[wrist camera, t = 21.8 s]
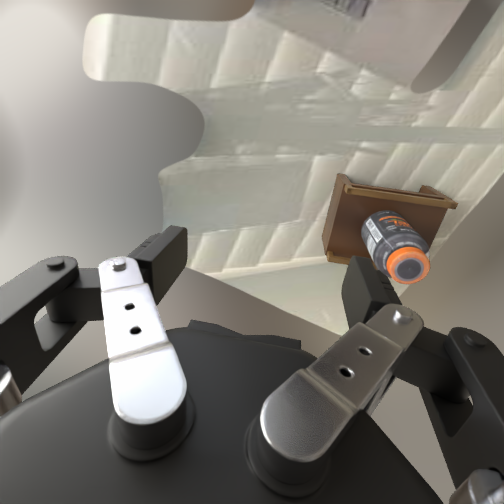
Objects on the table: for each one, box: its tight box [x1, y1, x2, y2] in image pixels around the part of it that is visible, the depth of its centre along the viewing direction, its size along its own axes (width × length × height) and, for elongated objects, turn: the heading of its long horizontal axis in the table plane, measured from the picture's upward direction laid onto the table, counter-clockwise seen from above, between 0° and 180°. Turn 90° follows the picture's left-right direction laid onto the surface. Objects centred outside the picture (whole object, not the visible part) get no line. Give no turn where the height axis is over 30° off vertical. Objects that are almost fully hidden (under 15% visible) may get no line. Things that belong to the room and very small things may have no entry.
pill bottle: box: [361, 210, 430, 284], centre depth 34 cm, size 6×6×11 cm
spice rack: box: [322, 174, 458, 270], centre depth 42 cm, size 11×14×9 cm
